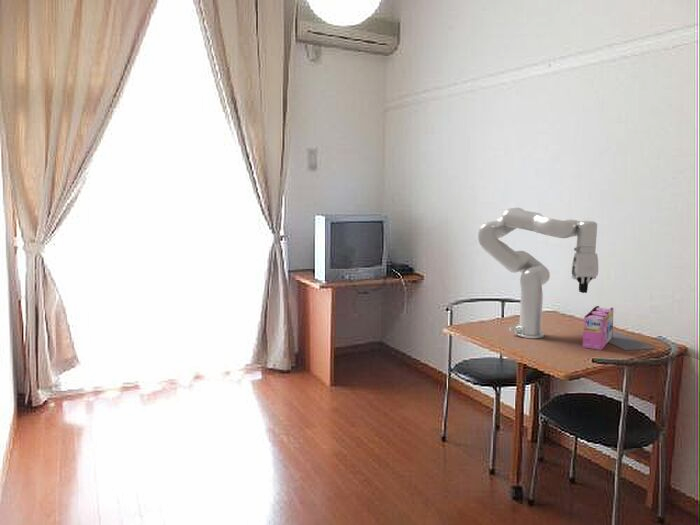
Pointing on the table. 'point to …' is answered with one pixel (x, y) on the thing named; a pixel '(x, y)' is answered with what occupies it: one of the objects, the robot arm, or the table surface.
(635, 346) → the mat
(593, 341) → the gum box
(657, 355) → the table surface
